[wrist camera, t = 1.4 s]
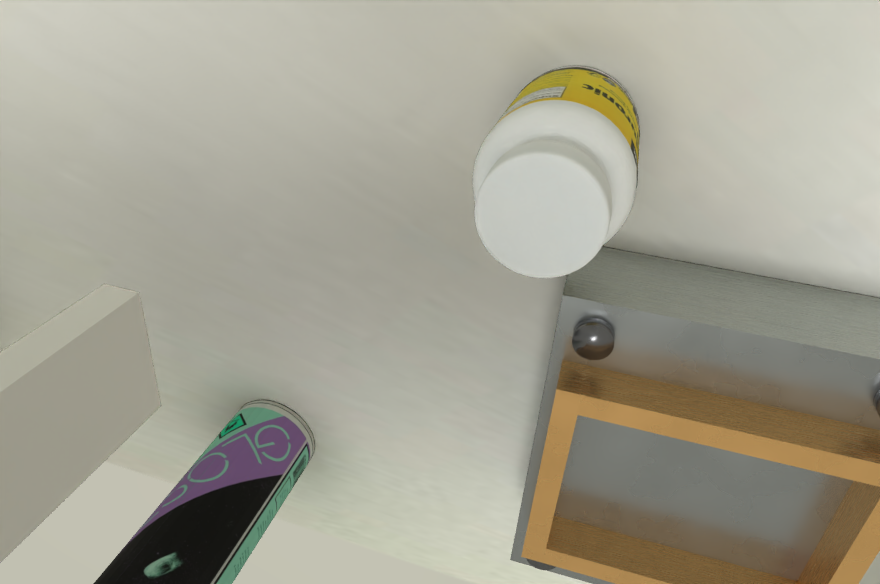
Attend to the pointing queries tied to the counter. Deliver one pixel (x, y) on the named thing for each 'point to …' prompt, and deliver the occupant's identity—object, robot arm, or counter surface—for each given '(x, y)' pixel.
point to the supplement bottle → (557, 172)
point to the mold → (705, 430)
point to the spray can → (220, 502)
